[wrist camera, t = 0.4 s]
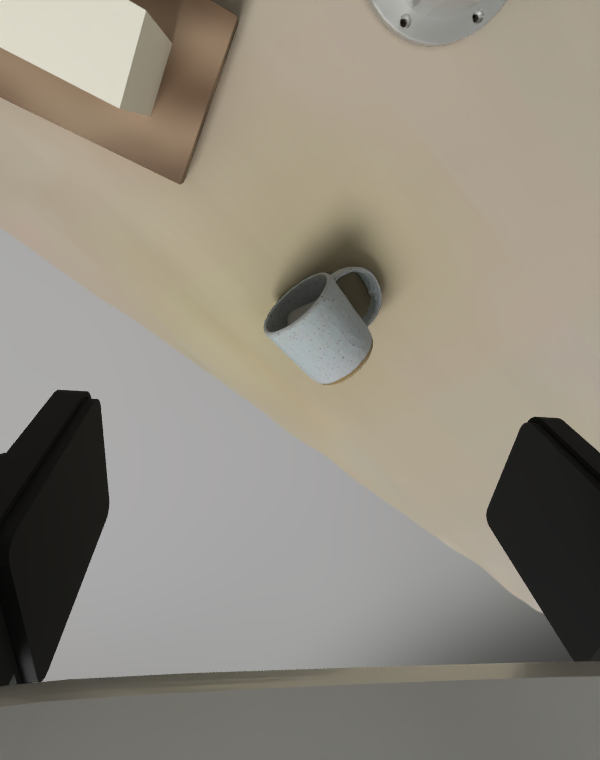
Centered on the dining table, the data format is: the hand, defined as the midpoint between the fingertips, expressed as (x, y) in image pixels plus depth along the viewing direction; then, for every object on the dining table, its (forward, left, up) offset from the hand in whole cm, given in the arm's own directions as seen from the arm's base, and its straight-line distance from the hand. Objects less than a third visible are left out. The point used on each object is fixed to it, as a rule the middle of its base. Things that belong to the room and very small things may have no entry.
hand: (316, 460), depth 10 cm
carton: (-6, -15, -32) cm, 36 cm away
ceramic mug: (+5, +8, -34) cm, 36 cm away
